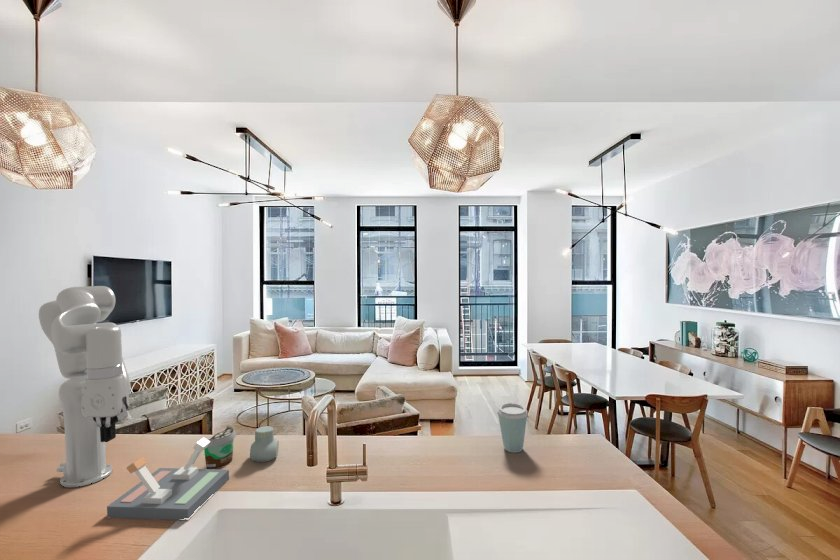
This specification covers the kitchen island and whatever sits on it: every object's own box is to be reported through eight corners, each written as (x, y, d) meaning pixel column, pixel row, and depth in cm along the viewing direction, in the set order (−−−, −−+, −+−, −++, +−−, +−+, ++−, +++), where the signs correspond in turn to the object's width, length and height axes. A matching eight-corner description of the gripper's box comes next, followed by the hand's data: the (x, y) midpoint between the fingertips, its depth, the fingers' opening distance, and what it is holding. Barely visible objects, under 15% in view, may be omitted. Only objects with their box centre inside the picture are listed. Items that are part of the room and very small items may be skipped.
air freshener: (254, 452, 144) (253, 424, 143) (279, 449, 146) (278, 421, 145) (249, 467, 133) (248, 437, 133) (275, 464, 135) (275, 434, 135)
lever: (180, 468, 120) (196, 442, 120) (188, 462, 124) (203, 437, 123) (187, 473, 120) (203, 447, 120) (194, 467, 124) (210, 441, 123)
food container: (220, 473, 130) (219, 442, 129) (203, 471, 131) (202, 440, 130) (244, 455, 142) (243, 426, 141) (228, 453, 143) (227, 425, 142)
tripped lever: (147, 496, 109) (126, 467, 109) (156, 489, 112) (136, 461, 112) (154, 491, 108) (133, 462, 108) (163, 484, 112) (143, 456, 112)
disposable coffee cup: (531, 455, 140) (531, 412, 139) (499, 455, 140) (500, 412, 139) (524, 442, 150) (524, 401, 150) (494, 442, 151) (494, 401, 150)
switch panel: (107, 517, 107) (106, 500, 107) (160, 477, 127) (159, 463, 127) (188, 520, 106) (187, 503, 106) (229, 479, 126) (228, 465, 126)
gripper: (65, 376, 106) (69, 445, 107) (120, 376, 105) (123, 446, 106) (90, 368, 114) (93, 434, 114) (142, 368, 113) (145, 434, 114)
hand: (108, 439), depth 110 cm, fingers closed
